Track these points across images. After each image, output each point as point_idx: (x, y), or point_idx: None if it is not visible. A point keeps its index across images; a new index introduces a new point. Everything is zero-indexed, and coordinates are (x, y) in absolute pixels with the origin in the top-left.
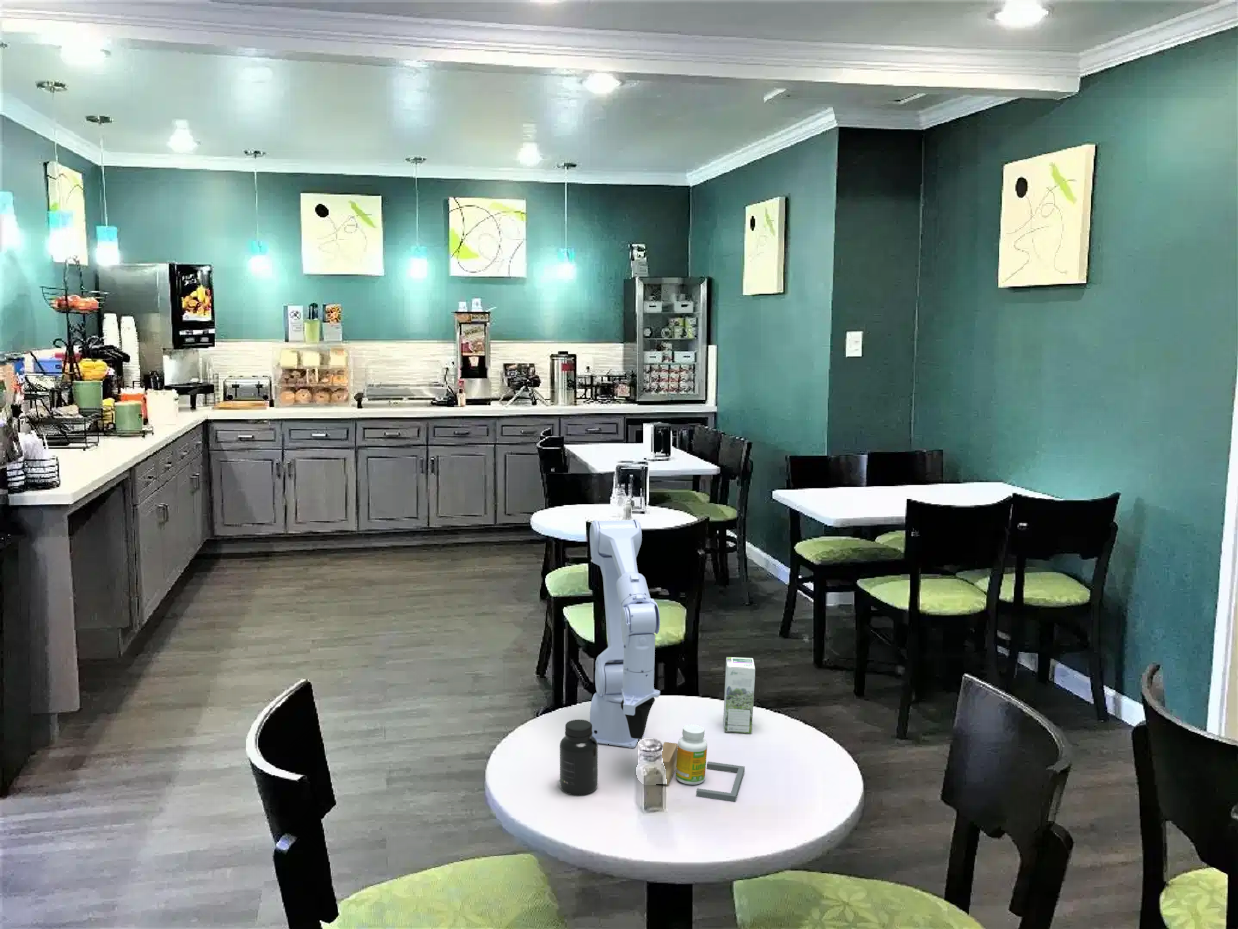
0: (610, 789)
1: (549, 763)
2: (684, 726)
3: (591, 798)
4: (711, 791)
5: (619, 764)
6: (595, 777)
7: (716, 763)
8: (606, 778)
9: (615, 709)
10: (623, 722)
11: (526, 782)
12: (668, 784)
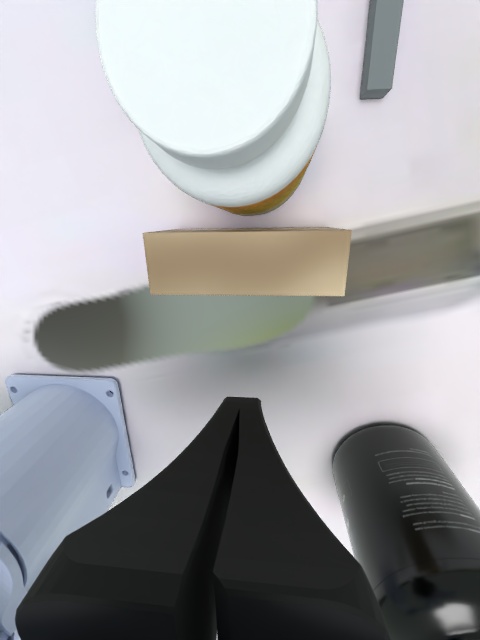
0: (378, 389)
1: None
2: (192, 143)
3: (440, 423)
4: (387, 7)
5: (222, 395)
6: (420, 454)
7: None
8: (314, 410)
9: (45, 533)
10: (68, 463)
11: None
12: (321, 227)
